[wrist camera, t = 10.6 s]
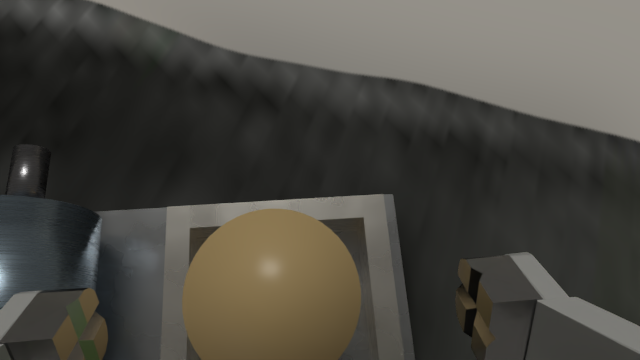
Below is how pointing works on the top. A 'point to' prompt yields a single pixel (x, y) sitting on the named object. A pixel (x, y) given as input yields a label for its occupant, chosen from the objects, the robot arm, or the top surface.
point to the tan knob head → (271, 290)
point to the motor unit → (180, 261)
